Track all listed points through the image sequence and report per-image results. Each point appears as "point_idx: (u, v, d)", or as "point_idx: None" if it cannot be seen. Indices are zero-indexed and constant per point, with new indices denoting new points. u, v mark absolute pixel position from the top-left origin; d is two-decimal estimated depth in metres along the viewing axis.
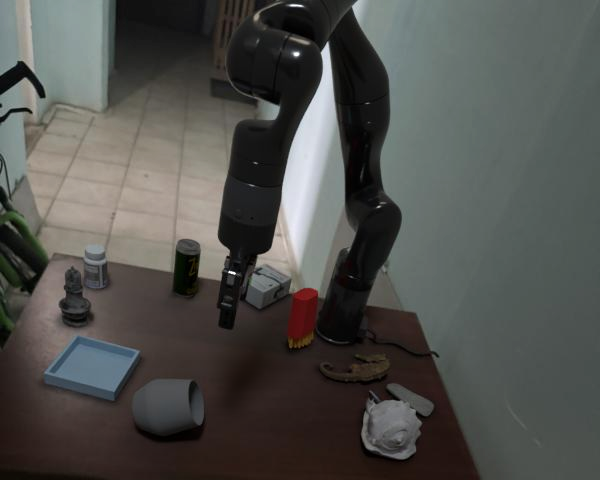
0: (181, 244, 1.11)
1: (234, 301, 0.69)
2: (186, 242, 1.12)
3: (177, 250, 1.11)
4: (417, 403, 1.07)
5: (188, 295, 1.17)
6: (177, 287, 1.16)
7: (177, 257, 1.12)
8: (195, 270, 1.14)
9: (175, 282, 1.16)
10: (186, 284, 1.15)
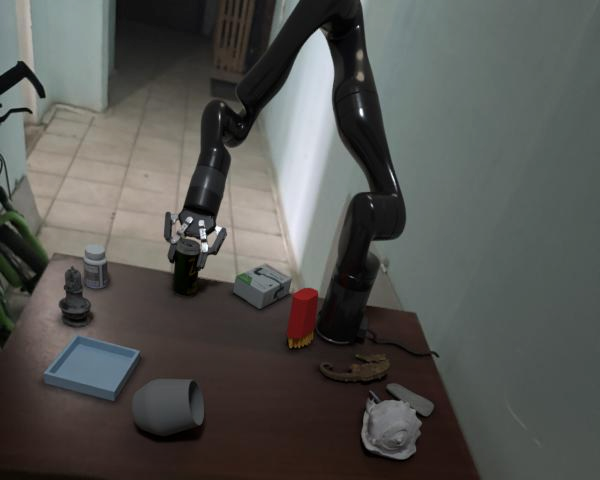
0: (181, 244, 1.11)
1: (164, 229, 1.12)
2: (186, 242, 1.12)
3: (177, 250, 1.11)
4: (417, 403, 1.07)
5: (188, 295, 1.17)
6: (177, 287, 1.16)
7: (177, 257, 1.11)
8: (195, 270, 1.14)
9: (175, 282, 1.16)
10: (186, 284, 1.15)
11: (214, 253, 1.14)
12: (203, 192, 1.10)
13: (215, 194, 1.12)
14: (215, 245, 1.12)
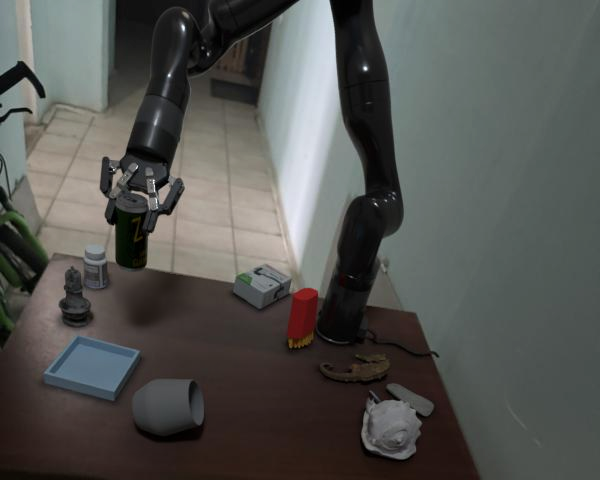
0: (122, 199, 0.84)
1: None
2: (129, 197, 0.85)
3: (116, 206, 0.84)
4: (417, 403, 1.07)
5: (135, 268, 0.90)
6: (120, 257, 0.89)
7: (117, 216, 0.85)
8: (142, 234, 0.87)
9: (117, 251, 0.89)
10: (131, 254, 0.88)
11: (167, 212, 0.87)
12: (151, 130, 0.83)
13: (167, 133, 0.85)
14: (167, 201, 0.85)
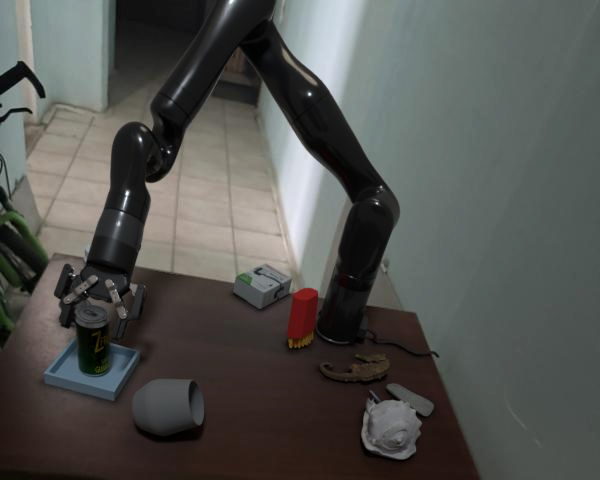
0: (81, 314, 0.85)
1: (57, 285, 0.86)
2: (89, 310, 0.87)
3: (76, 322, 0.85)
4: (417, 403, 1.07)
5: (97, 374, 0.92)
6: (82, 365, 0.90)
7: (77, 330, 0.86)
8: (103, 345, 0.88)
9: (79, 359, 0.90)
10: (92, 362, 0.90)
11: (136, 319, 0.88)
12: (110, 244, 0.84)
13: (127, 246, 0.86)
14: (135, 309, 0.87)
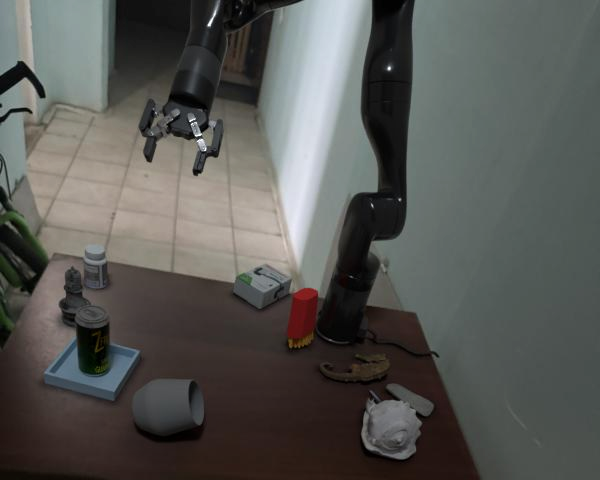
0: (81, 314, 0.85)
1: (141, 118, 0.91)
2: (89, 310, 0.87)
3: (76, 322, 0.85)
4: (417, 403, 1.07)
5: (97, 374, 0.92)
6: (82, 365, 0.90)
7: (77, 330, 0.86)
8: (103, 345, 0.88)
9: (79, 359, 0.90)
10: (92, 362, 0.90)
11: (215, 154, 0.93)
12: (193, 77, 0.89)
13: (208, 81, 0.91)
14: (215, 142, 0.92)
